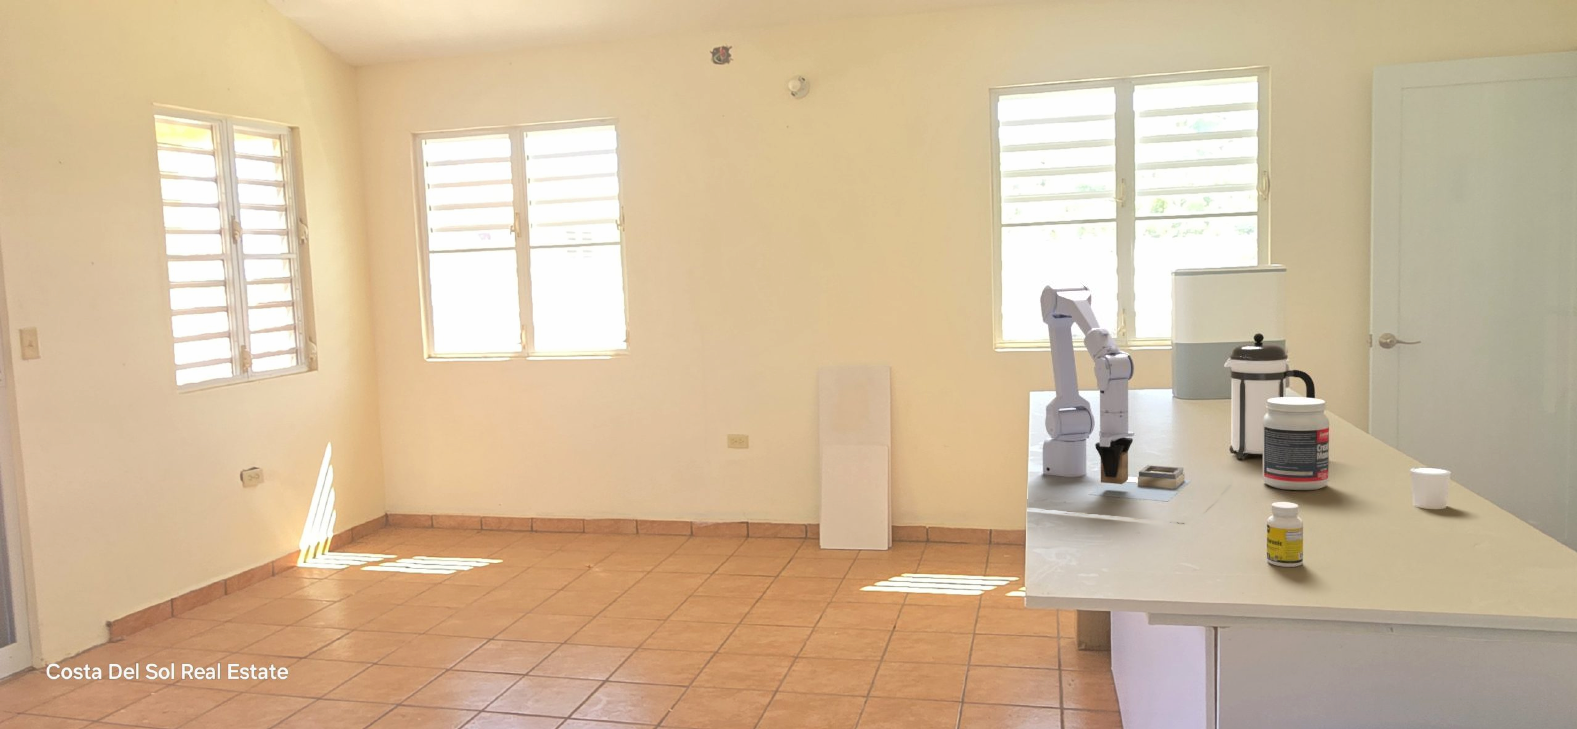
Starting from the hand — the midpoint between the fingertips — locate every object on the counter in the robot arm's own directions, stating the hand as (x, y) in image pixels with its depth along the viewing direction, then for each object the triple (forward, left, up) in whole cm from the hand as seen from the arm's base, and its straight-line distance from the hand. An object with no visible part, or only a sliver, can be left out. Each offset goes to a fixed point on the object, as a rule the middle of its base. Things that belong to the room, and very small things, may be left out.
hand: (1114, 474), depth 227 cm
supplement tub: (+32, +23, -5) cm, 40 cm away
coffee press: (+21, +54, -5) cm, 58 cm away
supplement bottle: (+38, -37, -5) cm, 53 cm away
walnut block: (0, 0, -1) cm, 1 cm away
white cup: (+57, +14, -5) cm, 59 cm away
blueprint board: (+4, +6, -4) cm, 8 cm away
